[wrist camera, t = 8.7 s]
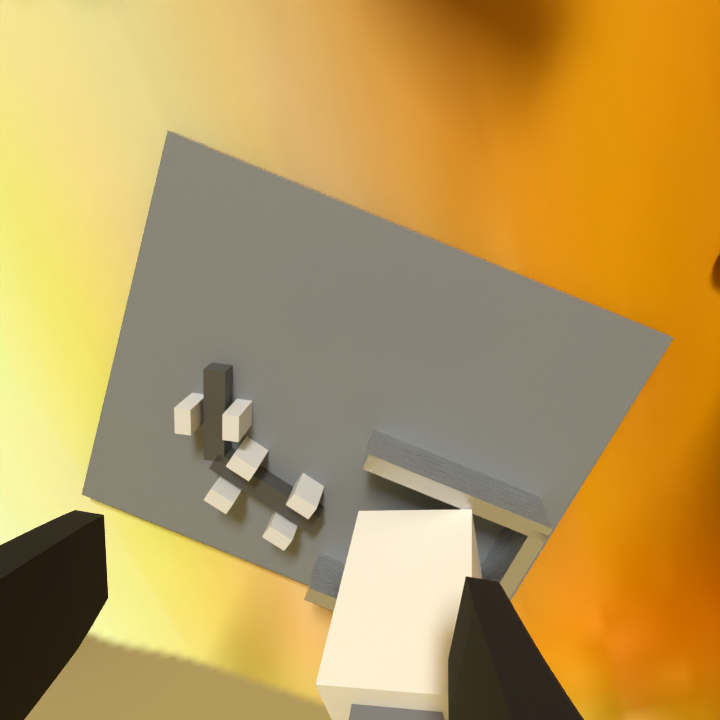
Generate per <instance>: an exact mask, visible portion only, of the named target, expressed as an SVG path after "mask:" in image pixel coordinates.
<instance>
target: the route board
mask: <svg viewBox="0 0 720 720" xmlns="http://www.w3.org/2000/svg"><path fill="white" fill-rule="evenodd" d="M672 340H673V337H671V336H669V335H667V334H665V333H662V332H660V331H657V330H655V329H653V328H650V327H648V326H645V325H643V324H640V323H638V322H635V321H633V320H631V319H628V318H626V317H623V316H621V315H618V314H616V313H613V312H611V311H609V310H606V309H604V308H601V307H599V306H596V305H594V304H592V303H589V302H587V301H584V300H582V299H579V298H577V297H574V296H572V295H570V294H567V293H565V292H562V291H560V290H557V289H555V288H552V287H550V286H548V285H545V284H543V283H540V282H538V281H535V280H533V279H531V278H528V277H526V276H523V275H521V274H518V273H516V272H513V271H511V270H509V269H506V268H504V267H501V266H499V265H496V264H494V263H491V262H489V261H487V260H484V259H482V258H479V257H477V256H474V255H472V254H470V253H467V252H465V251H462V250H460V249H457V248H455V247H452V246H450V245H448V244H445V243H443V242H440V241H438V240H435V239H433V238H430V237H428V236H426V235H423V234H421V233H418V232H416V231H413V230H411V229H408V228H406V227H404V226H401V225H399V224H396V223H394V222H391V221H389V220H387V219H384V218H382V217H379V216H377V215H374V214H372V213H369V212H367V211H365V210H362V209H360V208H357V207H355V206H352V205H350V204H347V203H345V202H343V201H340V200H338V199H335V198H333V197H330V196H328V195H326V194H323V193H321V192H318V191H316V190H313V189H311V188H308V187H306V186H304V185H301V184H299V183H296V182H294V181H291V180H289V179H286V178H284V177H282V176H279V175H277V174H274V173H272V172H269V171H267V170H265V169H262V168H260V167H257V166H255V165H252V164H250V163H247V162H245V161H243V160H240V159H238V158H235V157H233V156H230V155H228V154H225V153H223V152H221V151H218V150H216V149H213V148H211V147H208V146H206V145H203V144H201V143H199V142H196V141H194V140H191V139H189V138H186V137H184V136H182V135H179V134H177V133H174V132H170V131H168V132H167V136H166V141H165V145H164V149H163V153H162V157H161V162H160V166H159V170H158V174H157V179H156V183H155V187H154V191H153V196H152V200H151V204H150V208H149V212H148V217H147V221H146V225H145V229H144V234H143V238H142V242H141V246H140V251H139V255H138V259H137V263H136V268H135V272H134V276H133V280H132V284H131V289H130V293H129V297H128V301H127V306H126V310H125V314H124V318H123V323H122V327H121V331H120V335H119V339H118V344H117V348H116V352H115V356H114V361H113V365H112V369H111V373H110V378H109V382H108V386H107V390H106V394H105V399H104V403H103V407H102V411H101V416H100V420H99V424H98V428H97V433H96V437H95V441H94V445H93V450H92V454H91V458H90V462H89V466H88V471H87V475H86V479H85V483H84V488H83V492H82V495H85V496H87V497H90V498H92V499H95V500H97V501H100V502H102V503H105V504H107V505H109V506H112V507H114V508H117V509H119V510H122V511H124V512H127V513H129V514H132V515H134V516H137V517H139V518H142V519H144V520H147V521H149V522H152V523H154V524H157V525H159V526H162V527H164V528H167V529H169V530H172V531H174V532H177V533H179V534H182V535H184V536H187V537H189V538H191V539H194V540H196V541H199V542H201V543H204V544H206V545H209V546H211V547H214V548H216V549H219V550H221V551H224V552H226V553H229V554H231V555H234V556H236V557H239V558H241V559H244V560H246V561H249V562H251V563H254V564H256V565H259V566H261V567H264V568H266V569H269V570H271V571H274V572H276V573H278V574H281V575H283V576H286V577H288V578H291V579H293V580H296V581H298V582H301V583H303V584H306V585H309V582H310V578H311V575H312V571H313V568H314V564H315V562H316V560H317V557H318V555H319V553H321V554H323V555H326V556H328V557H331V558H333V559H336V560H338V561H341V562H343V563H345V564H346V560H347V556H348V552H349V548H350V544H351V540H352V536H353V532H354V528H355V524H356V520H357V516H358V512H359V511H388V510H459V509H460V508H458V507H455V506H453V505H450V504H448V503H445V502H443V501H440V500H438V499H435V498H433V497H431V496H428V495H426V494H423V493H421V492H418V491H416V490H413V489H411V488H408V487H406V486H403V485H401V484H398V483H396V482H393V481H391V480H389V479H386V478H384V477H381V476H379V475H376V474H374V473H371V472H369V471H366V470H364V469H363V465H364V460H365V455H366V451H367V446H368V442H369V440H370V438H371V435H372V433H373V431H374V429H375V430H377V431H380V432H382V433H384V434H387V435H389V436H392V437H394V438H397V439H399V440H402V441H404V442H407V443H409V444H412V445H414V446H416V447H419V448H421V449H424V450H426V451H429V452H431V453H434V454H436V455H439V456H441V457H444V458H446V459H449V460H451V461H453V462H456V463H458V464H461V465H463V466H466V467H468V468H471V469H473V470H476V471H478V472H481V473H483V474H486V475H488V476H490V477H493V478H495V479H498V480H500V481H503V482H505V483H508V484H510V485H513V486H515V487H518V488H520V489H522V490H525V491H527V492H530V493H532V494H535V495H537V496H540V499H541V501H542V504H543V506H544V509H545V511H546V513H547V516H548V518H549V521H550V523H551V526H552V528H553V529H552V531H551V533H550V534H549V536H548V538H547V539H546V541H545V542H544V544H543V546H542V547H541V549H540V550H539V552H538V554H537V555H536V557H535V558H534V560H533V562H532V563H531V565H530V567H529V568H528V570H527V571H526V573H525V575H524V576H523V578H522V579H521V581H520V583H519V584H518V586H517V587H516V589H515V591H514V592H513V594H512V596H511V597H510V599H509V600H511V599H512V597H513V595H514V594H515V592H516V591H517V589H518V587H519V586H520V584H521V583H522V581H523V579H524V578H525V576H526V574H527V573H528V571H529V570H530V568H531V566H532V565H533V563H534V562H535V560H536V558H537V557H538V555H539V554H540V552H541V550H542V549H543V547H544V546H545V544H546V542H547V541H548V539H549V538H550V536H551V534H552V533H553V531H554V529H555V528H556V526H557V525H558V523H559V521H560V520H561V518H562V517H563V515H564V513H565V512H566V510H567V509H568V507H569V505H570V504H571V502H572V501H573V499H574V497H575V496H576V494H577V493H578V491H579V489H580V488H581V486H582V484H583V483H584V481H585V480H586V478H587V476H588V475H589V473H590V472H591V470H592V468H593V467H594V465H595V464H596V462H597V460H598V459H599V457H600V456H601V454H602V452H603V451H604V449H605V448H606V446H607V444H608V443H609V441H610V439H611V438H612V436H613V435H614V433H615V431H616V430H617V428H618V427H619V425H620V423H621V422H622V420H623V419H624V417H625V415H626V414H627V412H628V411H629V409H630V407H631V406H632V404H633V403H634V401H635V399H636V398H637V396H638V395H639V393H640V391H641V390H642V388H643V386H644V385H645V383H646V382H647V380H648V378H649V377H650V375H651V374H652V372H653V370H654V369H655V367H656V366H657V364H658V362H659V361H660V359H661V358H662V356H663V354H664V353H665V351H666V350H667V348H668V346H669V345H670V343H671V341H672ZM473 521H474V527H475V534H476V541H477V547H478V554H479V560H480V567H481V565H482V563H483V562H484V560H485V558H486V556H487V555H488V553H489V551H490V550H491V548H492V546H493V544H494V543H495V541H496V539H497V538H498V536H499V534H500V532H501V531H502V529H503V527H504V526H502V525H500V524H497V523H495V522H492V521H490V520H487V519H485V518H482V517H480V516H477V515H475V514H473Z"/></svg>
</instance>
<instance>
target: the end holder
mask: <svg viewBox="0 0 720 720" xmlns="http://www.w3.org/2000/svg"><path fill="white" fill-rule="evenodd" d="M363 469H364V470H366V471H369V472H371V473H374V474H376V475H379V476H381V477H384V478H386V479H389V480H391V481H393V482H396V483H398V484H401V485H403V486H406V487H408V488H411V489H413V490H416V491H418V492H421V493H423V494H426V495H428V496H431V497H433V498H435V499H438V500H440V501H443V502H445V503H448V504H450V505H453V506H455V507H458V508H460V509H472V514H475V515H477V516H480V517H482V518H485V519H487V520H490V521H492V522H495V523H497V524H500V525H502V526H504V527H503V529H502V531H501V532H500V534H499V536H498V538H497V539H496V541H495V543H494V544H493V546H492V548H491V550H490V551H489V553H488V555H487V556H486V558H485V560H484V562H483V563H482V565H481V574H482V579H485V580H491V581H497V582H499V583H500V585H501V586H502V587H503V589H504V591H505V593H506V594H507V596H508V598H509V599H510V597H511V596H512V594H513V592H514V591H515V589H516V587H517V586H518V584H519V583H520V581H521V579H522V578H523V576H524V575H525V573H526V571H527V570H528V568H529V567H530V565H531V563H532V562H533V560H534V558H535V557H536V555H537V554H538V552H539V550H540V549H541V547H542V546H543V544H544V542H545V541H546V539H547V538H548V536H549V534H550V533H551V531H552V529H553V528H552V526H551V523H550V521H549V518H548V516H547V513H546V511H545V509H544V506H543V504H542V501H541V499H540V496H537V495H535V494H532V493H530V492H527V491H525V490H522V489H520V488H518V487H515V486H513V485H510V484H508V483H505V482H503V481H500V480H498V479H495V478H493V477H490V476H488V475H486V474H483V473H481V472H478V471H476V470H473V469H471V468H468V467H466V466H463V465H461V464H458V463H456V462H453V461H451V460H449V459H446V458H444V457H441V456H439V455H436V454H434V453H431V452H429V451H426V450H424V449H421V448H419V447H416V446H414V445H412V444H409V443H407V442H404V441H402V440H399V439H397V438H394V437H392V436H389V435H387V434H384V433H382V432H380V431H377V430H375V429H374V431H373V433H372V435H371V438H370V440H369V442H368V446H367V451H366V455H365V460H364V465H363ZM344 568H345V563H343V562H341V561H338V560H336V559H333V558H331V557H328V556H326V555H323V554H321V553H319V555H318V557H317V560H316V562H315V564H314V568H313V571H312V575H311V578H310V582H309V585H308V588H307V592H306V595H305V599H304V600H306V601H309V602H311V603H314V604H316V605H319V606H321V607H324V608H326V609H329V610H331V611H334V608H335V604H336V600H337V596H338V592H339V588H340V584H341V580H342V576H343V572H344Z"/></svg>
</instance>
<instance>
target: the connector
mask: <svg viewBox="0 0 720 720" xmlns="http://www.w3.org/2000/svg"><path fill="white" fill-rule="evenodd" d="M466 576H468V577H474V578H480V579H482V574H481V567H480V560H479V554H478V547H477V541H476V534H475V527H474V521H473V514H472V509H459V510H388V511H359V512H358V516H357V520H356V524H355V528H354V532H353V536H352V540H351V544H350V548H349V552H348V556H347V560H346V564H345V568H344V572H343V576H342V580H341V584H340V588H339V592H338V596H337V600H336V604H335V608H334V612H333V616H332V621H331V625H330V629H329V633H328V637H327V641H326V645H325V649H324V653H323V657H322V661H321V665H320V669H319V673H318V677H317V681H316V686H317V689H318V691H319V693H320V695H321V697H322V700H323V702H324V704H325V706H326V709H327V711H328V713H329V715H330V717H331V720H449V714H448V657H449V653H450V648H451V643H452V639H453V634H454V629H455V625H456V620H457V615H458V611H459V606H460V601H461V597H462V592H463V587H464V582H465V578H466Z"/></svg>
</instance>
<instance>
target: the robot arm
mask: <svg viewBox="0 0 720 720" xmlns="http://www.w3.org/2000/svg"><path fill="white" fill-rule="evenodd" d="M107 599H108V586H107V567H106V548H105V528H104V515H101V514H95V513H89V512H83V511H77V510H74V511H72V512H70V513H67V514H65V515H62V516H60V517H58V518H56V519H54V520H52V521H49V522H47V523H45V524H43V525H41V526H39V527H37V528H35V529H33V530H31V531H29V532H27V533H24V534H22V535H20V536H18V537H16V538H14V539H12V540H10V541H8V542H6V543H4V544H2V545H0V720H24V719H25V718H26V717H27V715H28V714H29V713H30V711H31V710H32V709H33V707H34V706H35V705H36V703H37V702H38V701H39V700H40V698H41V697H42V696H43V694H44V693H45V692H46V690H47V689H48V688H49V686H50V685H51V684H52V682H53V681H54V680H55V679H56V677H57V676H58V674H59V673H60V672H61V671H62V669H63V668H64V667H65V665H66V664H67V663H68V661H69V660H70V658H71V657H72V656H73V654H74V653H75V652H76V650H77V649H78V648H79V646H80V644H81V643H82V641H83V639H84V638H85V636H86V635H87V633H88V631H89V630H90V628H91V626H92V625H93V623H94V621H95V620H96V618H97V616H98V614H99V613H100V611H101V609H102V607H103V606H104V604H105V602H106V601H107ZM448 714H449V720H584V719H583V718H582V716H581V715H580V713H579V712H578V710H577V709H576V707H575V706H574V704H573V703H572V701H571V700H570V698H569V697H568V695H567V694H566V692H565V691H564V689H563V688H562V686H561V685H560V683H559V681H558V680H557V678H556V677H555V675H554V674H553V672H552V671H551V669H550V667H549V666H548V664H547V663H546V661H545V660H544V658H543V656H542V655H541V653H540V651H539V650H538V648H537V646H536V645H535V643H534V641H533V640H532V638H531V636H530V635H529V633H528V631H527V630H526V628H525V626H524V624H523V623H522V621H521V619H520V618H519V616H518V614H517V612H516V610H515V609H514V607H513V605H512V603H511V602H510V600H509V598H508V596H507V594H506V593H505V591H504V589H503V587H502V586H501V585H500V583H499V582H497V581H491V580H485V579H480V578H474V577H468V576H466V578H465V582H464V587H463V592H462V597H461V601H460V606H459V611H458V615H457V620H456V625H455V629H454V634H453V639H452V643H451V648H450V653H449V657H448Z"/></svg>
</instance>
